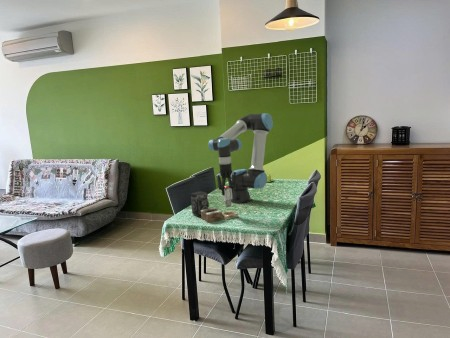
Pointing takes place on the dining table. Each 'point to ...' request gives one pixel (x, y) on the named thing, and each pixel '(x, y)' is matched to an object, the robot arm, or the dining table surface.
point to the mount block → (229, 214)
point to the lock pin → (228, 196)
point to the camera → (199, 202)
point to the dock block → (211, 215)
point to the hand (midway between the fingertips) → (227, 199)
